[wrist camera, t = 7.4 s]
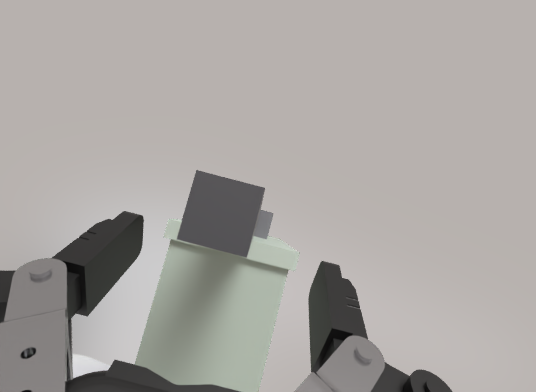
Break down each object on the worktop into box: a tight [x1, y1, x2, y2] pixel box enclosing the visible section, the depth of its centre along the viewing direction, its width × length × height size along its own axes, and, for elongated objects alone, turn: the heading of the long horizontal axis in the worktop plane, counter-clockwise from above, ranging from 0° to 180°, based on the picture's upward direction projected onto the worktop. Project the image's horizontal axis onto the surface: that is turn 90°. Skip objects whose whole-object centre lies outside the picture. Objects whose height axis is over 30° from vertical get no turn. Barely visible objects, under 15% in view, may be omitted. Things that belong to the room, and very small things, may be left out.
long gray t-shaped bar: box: [177, 170, 273, 258], centre depth 25 cm, size 26×6×3 cm, turn 2°
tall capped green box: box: [135, 219, 300, 392], centre depth 32 cm, size 21×11×32 cm, turn 2°
